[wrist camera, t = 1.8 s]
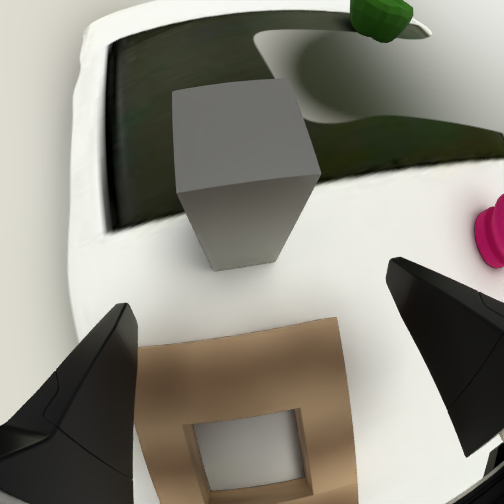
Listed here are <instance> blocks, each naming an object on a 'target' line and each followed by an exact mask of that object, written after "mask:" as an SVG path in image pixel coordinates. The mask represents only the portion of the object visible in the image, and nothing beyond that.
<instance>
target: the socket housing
mask: <svg viewBox="0 0 504 504" xmlns="http://www.w3.org/2000/svg"><path fill="white" fill-rule="evenodd" d="M291 409H295V415H296V421H297V427H298V434H299V440H300V446H301V452H302V459H303V465H304V471H305V477H304V478H300V479H295V480H290V481H286V482H281V483H275V484H269V485H263V486H257V487H250V488H242V489H233V490H222V491H210V487H209V484H208V481H207V477H206V474H205V470H204V467H203V463H202V460H201V456H200V452H199V448H198V444H197V440H196V436H195V432H194V428H193V424H197V423H208V422H217V421H226V420H233V419H241V418H247V417H254V416H260V415H265V414H271V413H276V412H281V411H286V410H291ZM134 424H135V427H136V431H137V435H138V438H139V442H140V445H141V449H142V452H143V455H144V458H145V461H146V465H147V468H148V471H149V473H150V476H151V479H152V482H153V485H154V488H155V490H156V493H157V496H158V498H159V501H160V503H161V504H358V484H357V468H356V455H355V444H354V434H353V424H352V415H351V407H350V399H349V391H348V384H347V377H346V370H345V364H344V357H343V351H342V345H341V339H340V333H339V327H338V322H337V317H334V318H324V319H319V320H314V321H310V322H305V323H300V324H295V325H290V326H285V327H280V328H274V329H269V330H263V331H258V332H252V333H246V334H240V335H233V336H227V337H220V338H213V339H206V340H199V341H191V342H183V343H174V344H165V345H156V346H145V347H138V369H137V381H136V393H135V407H134Z"/></svg>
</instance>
